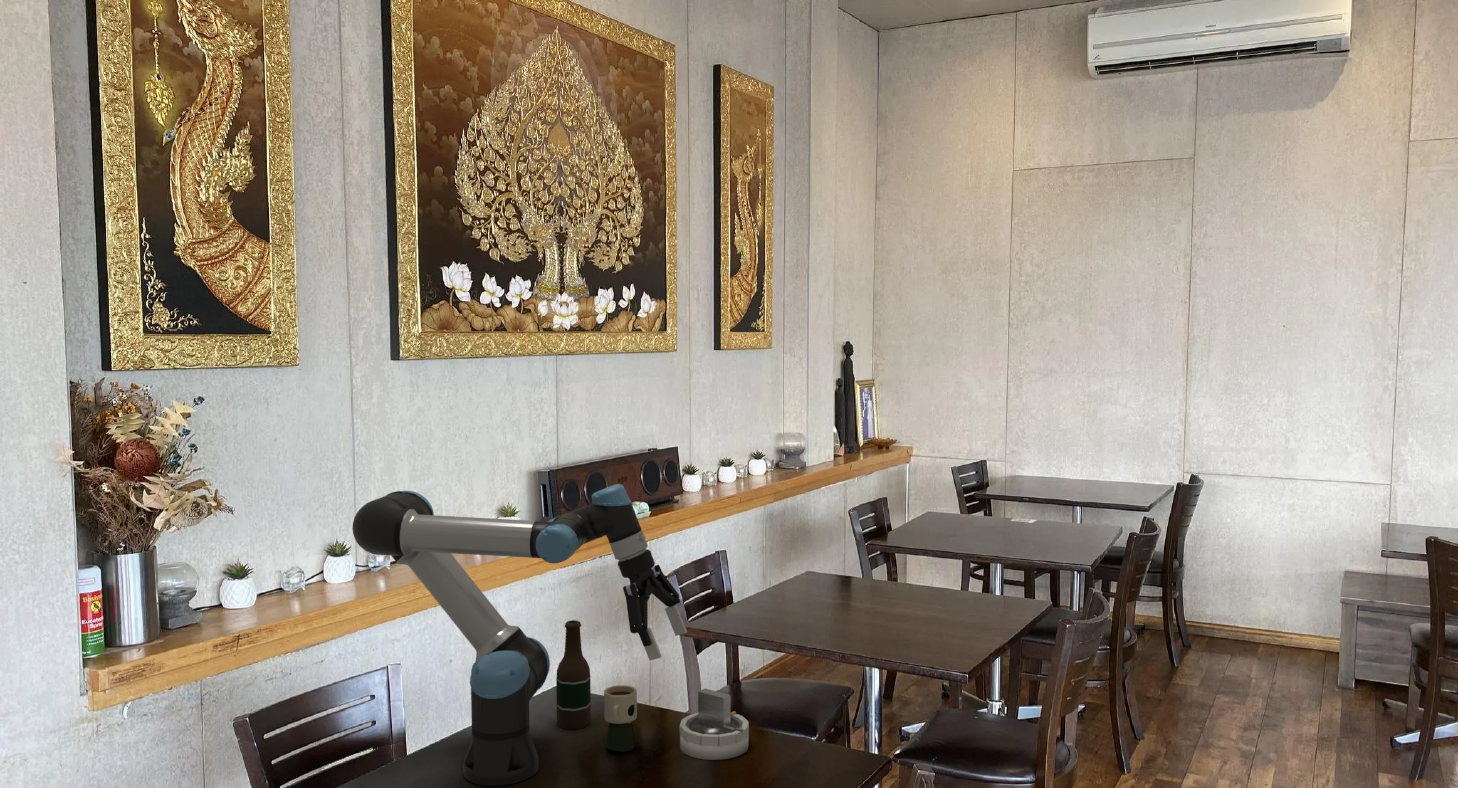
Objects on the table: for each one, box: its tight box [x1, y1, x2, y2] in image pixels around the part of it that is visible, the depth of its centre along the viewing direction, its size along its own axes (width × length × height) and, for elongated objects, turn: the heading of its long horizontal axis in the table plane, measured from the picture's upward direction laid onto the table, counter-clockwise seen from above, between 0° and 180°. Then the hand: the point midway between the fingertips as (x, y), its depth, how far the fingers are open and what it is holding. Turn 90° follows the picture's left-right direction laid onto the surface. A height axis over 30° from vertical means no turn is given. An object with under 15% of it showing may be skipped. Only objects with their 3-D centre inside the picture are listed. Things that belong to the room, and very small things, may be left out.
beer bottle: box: [555, 619, 592, 730], centre depth 238 cm, size 8×8×24 cm
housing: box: [679, 710, 750, 761], centre depth 226 cm, size 15×15×5 cm
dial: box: [689, 688, 739, 735], centre depth 226 cm, size 11×11×8 cm
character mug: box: [603, 684, 638, 753], centre depth 224 cm, size 11×7×13 cm, turn 173°
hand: (668, 646), depth 223 cm, fingers open, 13 cm apart
